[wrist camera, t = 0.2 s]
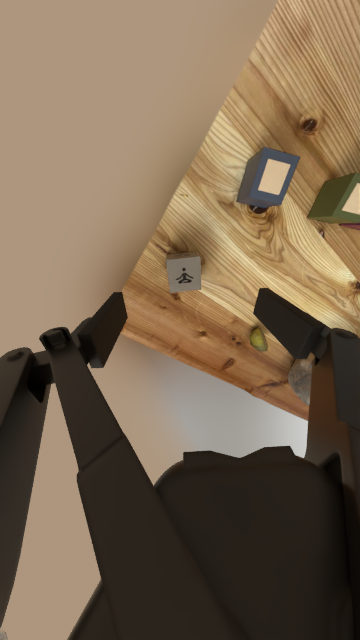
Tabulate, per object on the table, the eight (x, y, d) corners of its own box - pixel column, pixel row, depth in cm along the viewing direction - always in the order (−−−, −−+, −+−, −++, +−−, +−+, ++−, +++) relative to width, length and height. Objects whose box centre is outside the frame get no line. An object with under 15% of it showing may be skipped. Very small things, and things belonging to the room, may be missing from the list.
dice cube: (170, 283, 29) (170, 292, 25) (166, 254, 27) (165, 260, 22) (196, 280, 29) (201, 289, 25) (195, 251, 27) (200, 256, 22)
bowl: (347, 339, 39) (397, 371, 30) (316, 379, 47) (349, 414, 38) (293, 339, 38) (328, 372, 29) (271, 380, 46) (294, 416, 37)
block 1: (247, 161, 21) (264, 146, 17) (277, 169, 22) (301, 156, 18) (236, 201, 23) (249, 197, 19) (263, 208, 24) (281, 204, 20)
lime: (252, 322, 35) (264, 336, 31) (269, 329, 36) (283, 343, 32) (241, 337, 37) (250, 352, 33) (257, 343, 38) (268, 358, 34)
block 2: (324, 181, 23) (357, 172, 19) (351, 188, 23) (387, 180, 19) (306, 218, 25) (332, 216, 21) (331, 223, 25) (360, 223, 21)
